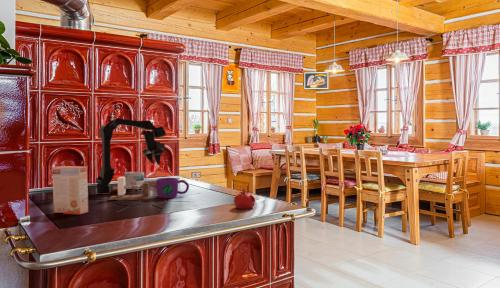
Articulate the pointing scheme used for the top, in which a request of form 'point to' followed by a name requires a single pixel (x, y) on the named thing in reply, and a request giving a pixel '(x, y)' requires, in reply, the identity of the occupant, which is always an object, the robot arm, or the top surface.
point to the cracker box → (70, 189)
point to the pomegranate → (244, 200)
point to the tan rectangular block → (121, 186)
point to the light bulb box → (134, 178)
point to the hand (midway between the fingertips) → (155, 164)
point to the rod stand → (133, 197)
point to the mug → (169, 187)
